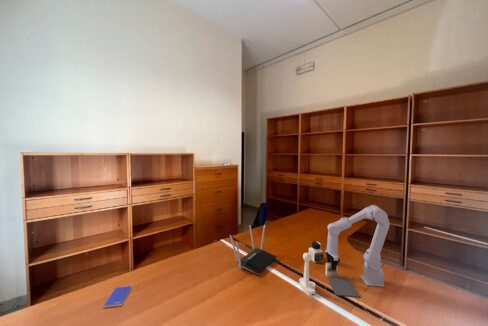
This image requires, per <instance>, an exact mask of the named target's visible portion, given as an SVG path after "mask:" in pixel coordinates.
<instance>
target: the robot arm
mask: <svg viewBox="0 0 488 326" xmlns="http://www.w3.org/2000/svg"><path fill="white" fill-rule="evenodd" d="M388 216H389V215H388V214H387V212H386V211H385V210H384V209H381V208H380V207H379V206H378V205H376V204H371V205H369V206H366V207H365V208H363V209H362V210H360V211H358V212H357V213H355V214H353V215H352V216H350V217H341V218H340V219H339V220H337V221H334V222H331V223H329V224H328V225H327V226H326V227H327V230H328V232H327V240H326V241H327V243H326V248H325V249H324V253H325V255H326V260H327V263H331V268H332V270H336V267H337V266H338V264H340V262H341V259H340V258H339V255H338V254H339V251H338V248H339V247H338V246H339V235H340V233H341V232H342V231H345V230H348V229H349V228H351V227H352V224H355V223H357V222H360V221H362V220H364V219H367V220H368V219H370V220H375V222H376V223H377V225H376V228H375V231H374V234H373V237H372V240H371V243H370V246H369V248H367V249H366V251H365V252H364V254H363V255H362V257H363V260H364V265H363V275H360V279H361V280H362V282H364V284H365V285H366V286H369V287H370V286H371V287H381V288H382V287H385V272H384V269H383V268H382V263H381V262H382V258H381V253H382V249H383V246H384V243H385V241H386V237H387V234H388V233H389V229H390V225H391V224H390V221H389V217H388Z"/></svg>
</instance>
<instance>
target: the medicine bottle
mask: <svg viewBox="0 0 488 326" xmlns="http://www.w3.org/2000/svg"><path fill="white" fill-rule="evenodd" d="M308 253H309V254H310V255H311V260H310V261H312V262H313V263H315V264H316V263H322V262H324V255H325V254H324V253H325V251H324V250H322V243H321V242H319V241H312V242H311V247H309V248H308Z"/></svg>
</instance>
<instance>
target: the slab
mask: <svg viewBox="0 0 488 326" xmlns="http://www.w3.org/2000/svg"><path fill="white" fill-rule="evenodd" d="M338 269H339V266H338V265H337V267H336V270H332V268H331V262H325V271H324V272H325V273H324V274H325V276H326V277H327V278H328V277H331V278H338Z"/></svg>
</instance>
